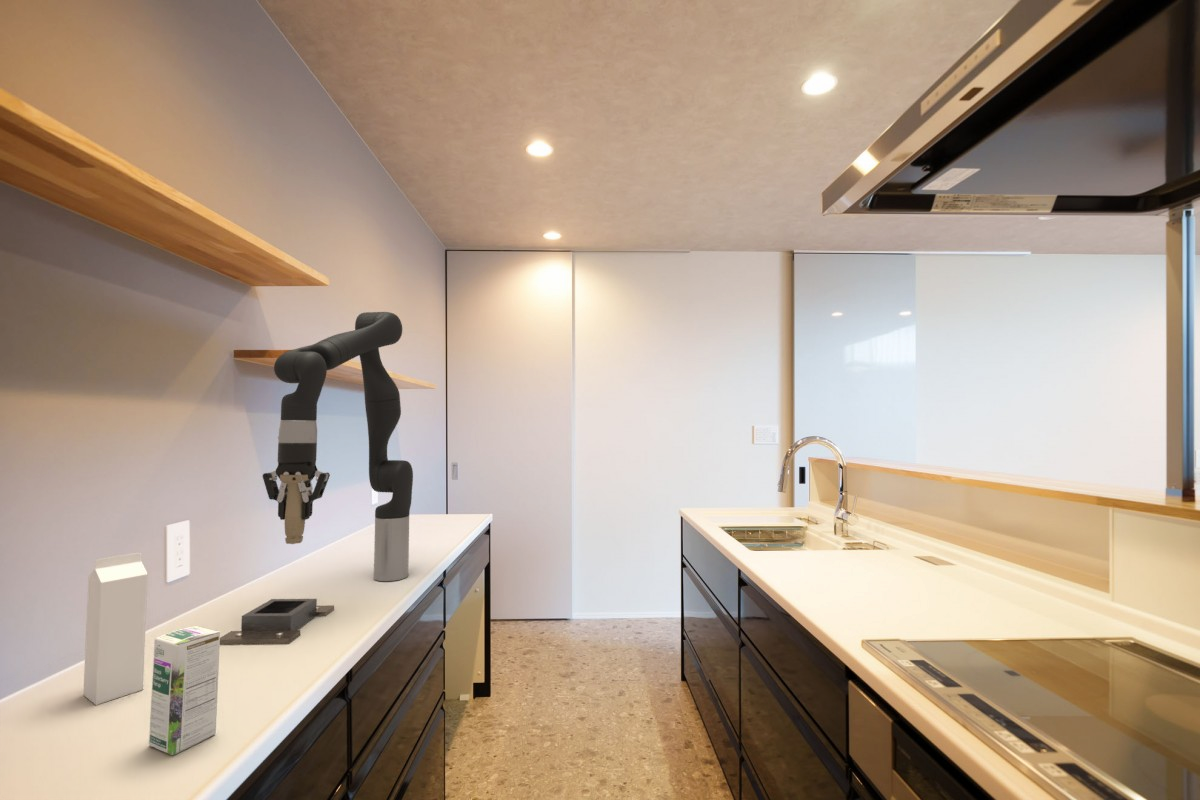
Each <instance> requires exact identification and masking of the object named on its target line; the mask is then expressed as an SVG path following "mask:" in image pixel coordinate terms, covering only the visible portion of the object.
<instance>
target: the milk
mask: <svg viewBox="0 0 1200 800" xmlns="http://www.w3.org/2000/svg"><path fill="white" fill-rule="evenodd" d="M142 559H143V555H142V553H141V552H134V553H127V554H121V555H115V556H109V557H103V558H101V557H100V558H97V559H96V560H95V561H94V563H95V564H94V570H93V571H92V572H91V573H90V574H89V575H88V581H87V583H88V585H87V602H86V603H87V604H86V621H85V622H86V624H85V625H86V627H85V630H86V631H85V644H84V645H85V647H84V649H85V650H84V667H83V668H84V670H83V672H84V673H83V689H82V690H83V693H82V695H83V696H84V697H86V698H87V699H88V700H89V701H90V702H91V703H93V704H94V705H96V706H98V705H101V704H104V703H107V702H109V701H112V700H116V699H118V698H123V697H124V696H128V695H131V694H135V693H137V692H140V690H141V691H142V690H144V675H145V672H144V671H145V655H146V653H145V647H146V629H147V628H146V626H147V601H148V600H147V598H148V580H149V579H148V578H149V577H148V572H147V570H146V569H147V568H146V567H145V566H144V563H143V562H142V561H143V560H142Z"/></svg>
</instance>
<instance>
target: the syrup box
mask: <svg viewBox="0 0 1200 800" xmlns="http://www.w3.org/2000/svg"><path fill="white" fill-rule="evenodd" d="M220 637H221V631H220V630H212V629H209V628H205V627H200V626H198V625H196V626H190V627H185V628H181V629H177V630H173V631H170V632H168V633H165V634H162V635H160V636H158V637H157V636H156V637H155V638H154V642H153V643H154V647H153V661H152V662H153V663H152V664H153V665H152V666H153V667H152V681H151V683H152V684H151V696H150V697H151V699H150V700H151V701H150V715H149V716H150V717H149V733H148V734H149V735H148V738H149V739H148V745H149V747H150V748H151V747H152V748H155V749H157V750H158V751H162V752H164V753H166V754H169V755H170V756H175V755H177V754H179V753H181V752H183V751H185V750H186V749H188V748H191V747H193V746H195V745H197V744H199V743H201V742H203V741H204V740H207V739H208V738H210V737H211V738H212V736H215V735H216V733H217V714H218V712H217V711H218V690H219V673H220V672H219V669H220V667H219V666H220V647H221V645H220Z"/></svg>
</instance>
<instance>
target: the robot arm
mask: <svg viewBox="0 0 1200 800" xmlns="http://www.w3.org/2000/svg"><path fill="white" fill-rule="evenodd" d="M354 329H355V330H350V331H349V330H348V331H345V332H340V333H336V334H333V335H331V336H328V337H327V338H324V339H321V340H320V341H318V342H315V343H314V344H311V345H306V346H301V347H299V348H294V349H290V350H288V351H285V352H283V353H281V354H280V355H279V356H278V357H277V359H276V360H275V362H274V365H273V371H274V375H275V376H276V377H277V378H278V379H279V380H280V381H282V382H284V383H286V384H298V385H297V386H296V389H295V391H293V392H291V393H287V394H285V395H283V397H282V398H281V403H280V406H281V407H280V424H279V429H278V437H277V440H278V441H277V442H278V443H277V467H276V469H275V470H274V471H271V472H265V473H263V474H262V480H263V481H264V482H263V483H264V486H265V489H266V492H267V496H268V499H269V500H271V501H272V500H274V501H276V502H277V505H278V506H277V516H278V517H279V519H280V521H285V510H286V501H287V490H288V489H287V483H284V482H282V481H280V485H279V487H278V484H277V480H278V479H279V480H280V475H308V479H309V480H308V481H305V482H304V481H303V480H302V481H301V482H299V483H298V486H299V490H300V492H301V494H302V498H303V501H304V503H302V520H305V521H306V520H309V519H310V517H312V515H313V505H314V504H313V502H314V501H315V500H319V499H321V498H322V497H323V494H324V492H325V491H326V490H325V488H326V486H327V484H328V482H329V478H330V475H331V474H330V472H323V471H319V470H318V467H317V465H316V464H317V450H318V449H317V447H318V446H317V445H318V426H317V419H318V418H317V417H318V415H317V414H318V412H317V411H318V401H319V398H320V396H321V393H322V391H323V387H324V383H325V381H326V377H327V371H330V370H334V369H335V368H337V367H339V366H341V365H343V364H345V363H346V362H349V361H350V360H353V359H354V358H357V357H358V356H359V359H360V364H361V372H362V380H363V389H364V391H363V392H364V393H363V395H364V404H365V405H364V406H365V414H366V415H365V416H366V422H367V433H368V435H367V436H368V477H369V483H370V487H371V489H372V490H373V491H375V492H377V493H392V496H391V499H390V500H389V501H388V502H386V503H384V504H381V505H378V506H377V507H376V508H375V511H374V550H373V551H374V552H373V554H374V555H373V579H374V581H377V582H396V581H400V580H403V579H406V578H408V576H409V558H410V555H409V553H410V542H409V541H410V510H411V506H412V498H413V497H412V494H413V485H414V483H413V482H414V481H413V480H414V471H413V467H412V465H411V464H412V463H410V462H409V461H408V460H401V459H400V460H399V459H395V460H394V459H388V445H389V441H390V438H391V436H392V434H393V432H394V430H395V429H396V427H397V425H398V423H399V421H400V419H401V414H402V413H401V412H402V408H401V397H400V391H399V388H398V386H397V384H396V383H395V381H394V380H393V379H392V377H391V375H390V374H389V373H388V372H387V369H386V368H385V366H384V365H383V362H382V359H381V355H380V348H382V347H387V346H391V345H394V344H396V343H397V342H399V340H400V339H401V337H402V335H403V324H402V321H401V319H400V318H399V316H398V315H397V314H395V313H392V312H389V311H371V312H370V311H368V312H361V313H359V314H358V316H357V317H356V319H355V323H354ZM301 478H302V476H301ZM311 478H312V480H313V479H314V478H315V480H316V484H315V486H314V489H313V484H312V480H311V481H310V479H311Z"/></svg>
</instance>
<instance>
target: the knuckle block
mask: <svg viewBox="0 0 1200 800" xmlns="http://www.w3.org/2000/svg"><path fill="white" fill-rule="evenodd" d="M317 600H318V599H317V598H271V599H270V600H268V601H266V602H264V603H262V604H261V605H259V606H257V607H255V608H254V609H251V610H250V611H248V612H246V613H245V614H243V615H241V625H240V626H241V627H240V629H241V630H230V631H229V632H228V633H226V634H224V635H222V636H220V646H222V645H223V646H228V645H229V646H231V645H232V646H233V645H234V646H235V645H237V646H238V645H239V646H240V644H243V645H289V644H291V643H292V642H294V641H295V640H296V639H297V638H299V637H301V630H300V629H301V628H303V627H304V626H306V625H307V624H308V623H310V622H311V621H312V620H313V619H315V618H316V617H321V616H325V617H326V616H328V615H329V614H331V613H332V612H333V611H335V605H333V604H332V605H317V604H318V603H317ZM330 612H331V613H330Z"/></svg>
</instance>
